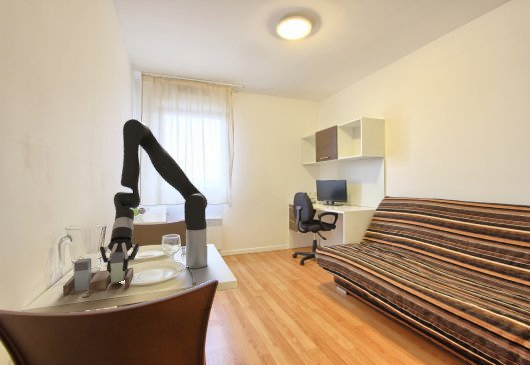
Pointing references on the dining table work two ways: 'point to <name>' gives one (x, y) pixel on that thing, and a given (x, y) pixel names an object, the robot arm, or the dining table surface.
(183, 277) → the dining table surface
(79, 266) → the block
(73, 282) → the comb rack
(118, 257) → the grey upright block
